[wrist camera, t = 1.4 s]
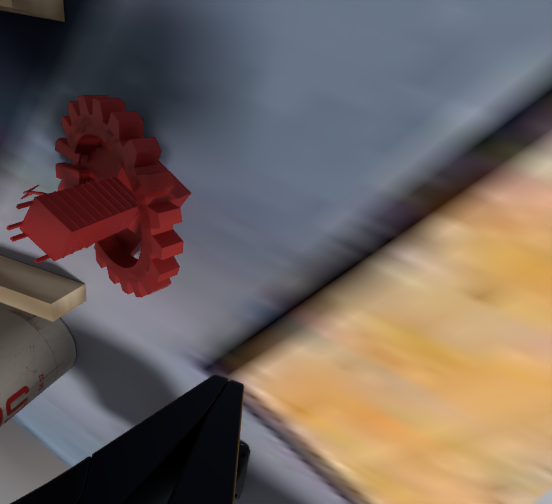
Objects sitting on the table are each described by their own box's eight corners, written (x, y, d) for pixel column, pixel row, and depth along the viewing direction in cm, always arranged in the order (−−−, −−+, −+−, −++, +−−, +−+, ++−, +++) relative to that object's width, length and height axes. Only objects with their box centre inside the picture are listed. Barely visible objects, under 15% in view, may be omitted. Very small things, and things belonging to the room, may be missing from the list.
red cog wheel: (38, 103, 21) (-146, 99, 14) (213, 92, 18) (95, 81, 11) (81, 261, 25) (-43, 324, 18) (230, 276, 22) (153, 359, 15)
